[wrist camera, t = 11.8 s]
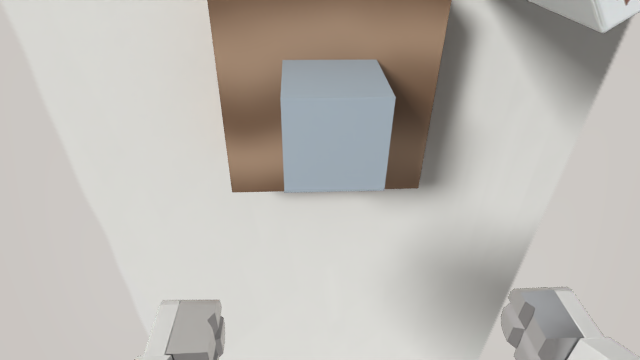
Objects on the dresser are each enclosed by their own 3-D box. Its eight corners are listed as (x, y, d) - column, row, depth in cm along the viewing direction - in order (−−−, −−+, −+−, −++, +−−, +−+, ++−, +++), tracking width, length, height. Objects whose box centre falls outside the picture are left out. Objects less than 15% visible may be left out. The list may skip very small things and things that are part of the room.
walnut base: (218, -26, 23) (205, -12, 20) (431, -25, 24) (453, -11, 21) (238, 159, 30) (232, 192, 27) (404, 156, 31) (418, 188, 27)
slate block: (282, 60, 22) (280, 98, 18) (376, 59, 22) (395, 97, 18) (285, 142, 25) (284, 192, 21) (369, 141, 25) (384, 190, 21)
